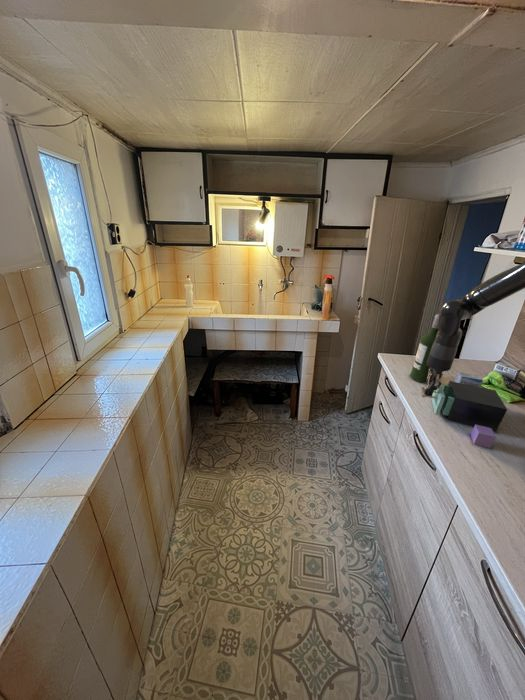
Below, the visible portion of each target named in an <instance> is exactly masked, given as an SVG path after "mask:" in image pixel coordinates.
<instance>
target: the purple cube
mask: <svg viewBox="0 0 525 700" xmlns="http://www.w3.org/2000/svg"><path fill="white" fill-rule="evenodd" d="M470 437H471V440H472V442H473V445H478V446H480V447H484V448H487V449H488V448H489V449H491V448H492V446H493V444H494V441H495V440H496V438H497V436H496V434H495V432H493V430H492V428H488V427H484V426H480V425H476V424H475V426H474V427H473V429H472V430H471V433H470Z"/></svg>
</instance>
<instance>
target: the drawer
mask: <svg viewBox="0 0 525 700" xmlns="http://www.w3.org/2000/svg"><path fill="white" fill-rule="evenodd" d="M442 385H443V384H441V386H440V387H439V388H438V389H437V390H434V392H433V395H432V396H430V395H426V388H425V387H424V386H421V387H420V394H421V397H422V398H430V399H431V404H432V407H433V412H434V415H437V416H439V414H440V412H441V414H442V415H444V416H446V415H447V416H448V415H449V412H450V409H451V407H452V404H453V402H454V399H455V398H454V395H453V393H452V390H451V387H450V385H448V384H446V383H444V385H443V386H442Z"/></svg>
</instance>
